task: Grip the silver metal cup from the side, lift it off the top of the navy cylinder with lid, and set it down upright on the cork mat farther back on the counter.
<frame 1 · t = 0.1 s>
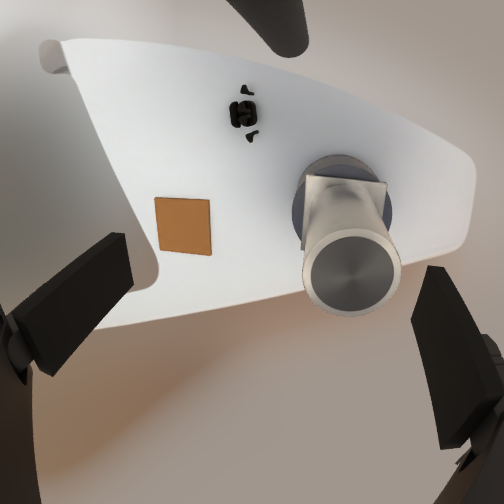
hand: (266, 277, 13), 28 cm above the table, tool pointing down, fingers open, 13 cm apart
wireless earbuds: (248, 113, 37), on the table
cup: (343, 218, 32), point 8 cm above the table, touching navy cylinder with lid
navy cylinder with lid: (339, 197, 39), on the table
mat: (183, 225, 45), on the table
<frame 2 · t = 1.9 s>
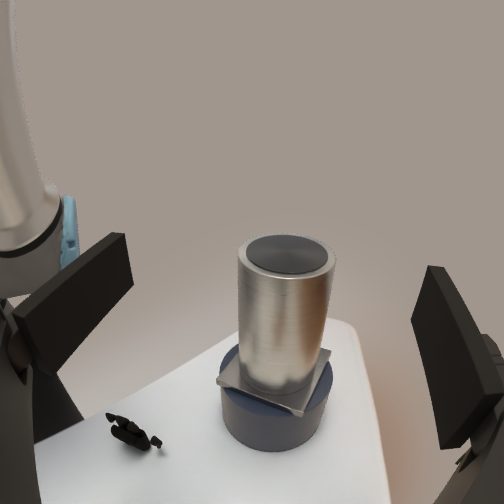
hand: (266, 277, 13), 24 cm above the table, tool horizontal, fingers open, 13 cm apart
wireless earbuds: (137, 447, 26), on the table
cup: (277, 365, 28), point 8 cm above the table, touching navy cylinder with lid
navy cylinder with lid: (272, 411, 32), on the table
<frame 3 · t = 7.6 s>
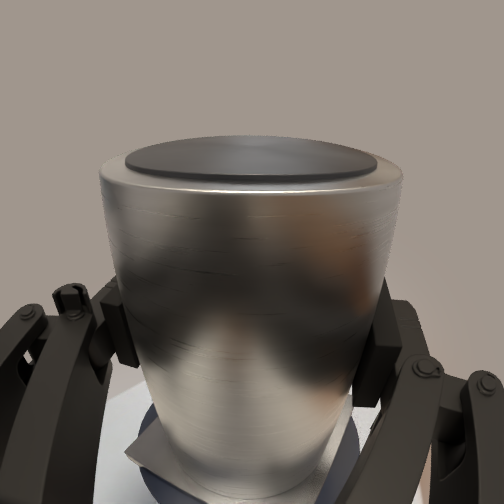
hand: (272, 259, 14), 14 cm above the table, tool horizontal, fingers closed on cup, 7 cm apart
cup: (248, 431, 13), point 8 cm above the table, touching navy cylinder with lid, gripper
navy cylinder with lid: (248, 485, 16), on the table
when the fingers open (7 cm above the table, at t = 20.0 s): cup stays where it is, resting on mat.
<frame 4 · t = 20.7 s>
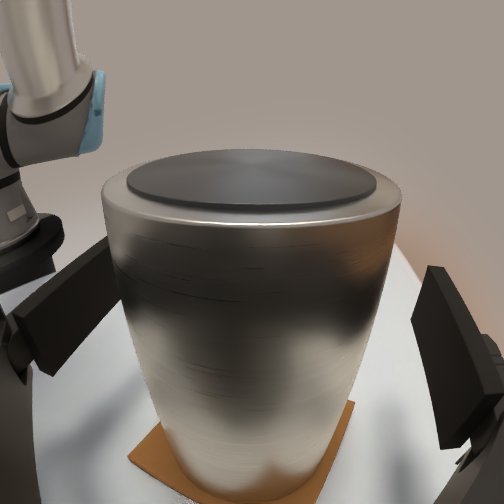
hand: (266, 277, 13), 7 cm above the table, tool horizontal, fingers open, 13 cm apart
cup: (248, 437, 13), resting on mat
mat: (248, 441, 13), on the table
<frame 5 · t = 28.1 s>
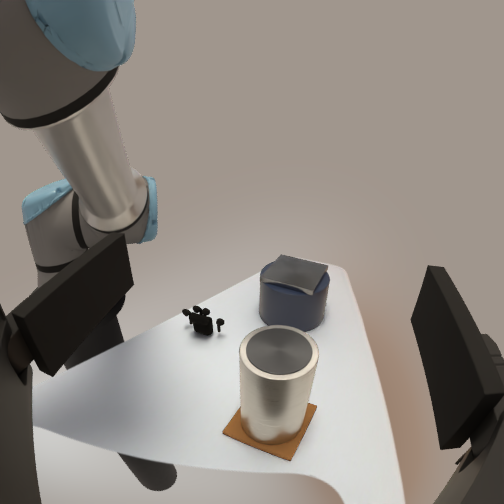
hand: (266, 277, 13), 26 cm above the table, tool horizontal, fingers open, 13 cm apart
wireless earbuds: (202, 335, 47), on the table
cup: (271, 419, 33), resting on mat
navy cylinder with lid: (291, 311, 53), on the table
mat: (271, 421, 33), on the table
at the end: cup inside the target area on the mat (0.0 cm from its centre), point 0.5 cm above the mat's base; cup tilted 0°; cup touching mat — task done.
